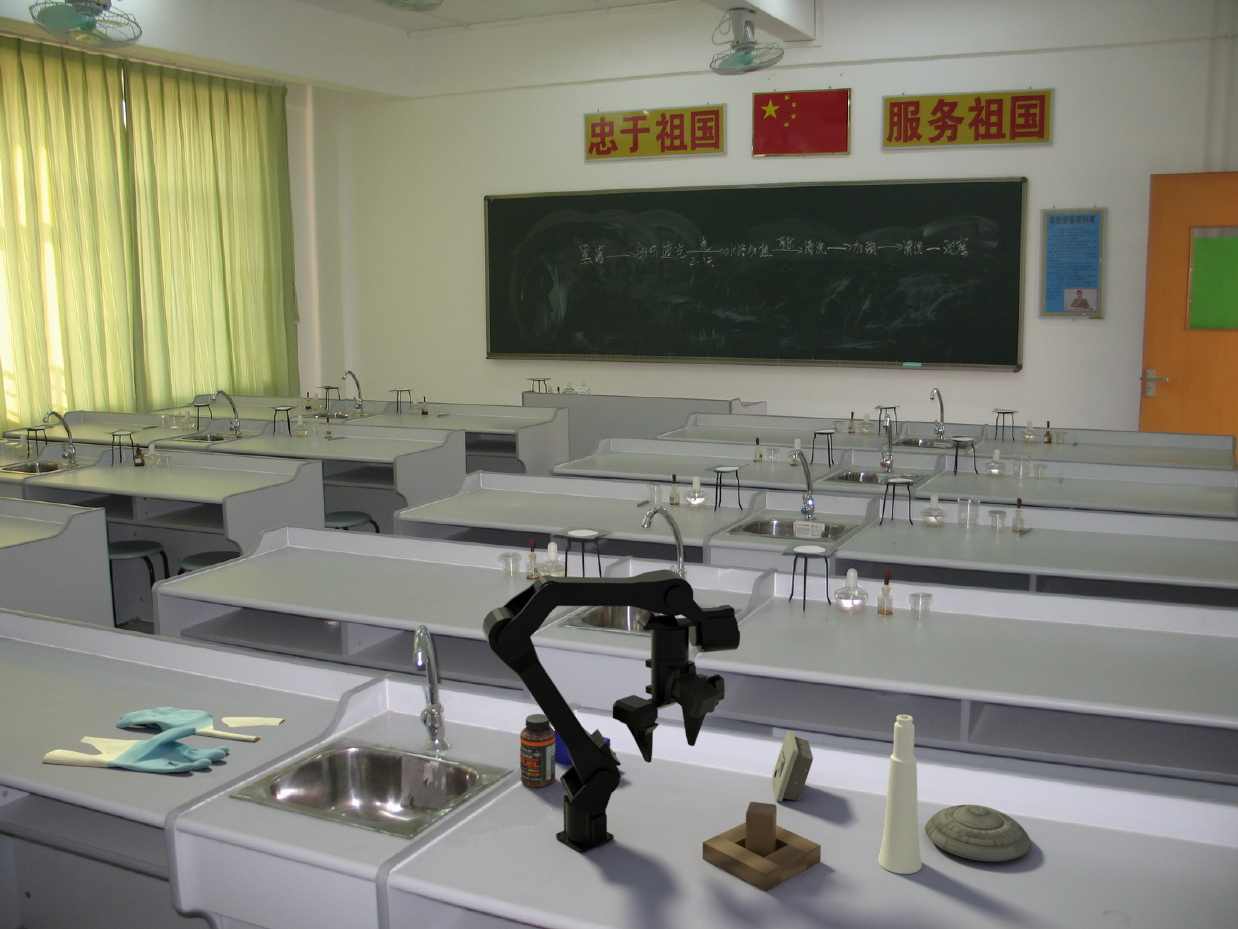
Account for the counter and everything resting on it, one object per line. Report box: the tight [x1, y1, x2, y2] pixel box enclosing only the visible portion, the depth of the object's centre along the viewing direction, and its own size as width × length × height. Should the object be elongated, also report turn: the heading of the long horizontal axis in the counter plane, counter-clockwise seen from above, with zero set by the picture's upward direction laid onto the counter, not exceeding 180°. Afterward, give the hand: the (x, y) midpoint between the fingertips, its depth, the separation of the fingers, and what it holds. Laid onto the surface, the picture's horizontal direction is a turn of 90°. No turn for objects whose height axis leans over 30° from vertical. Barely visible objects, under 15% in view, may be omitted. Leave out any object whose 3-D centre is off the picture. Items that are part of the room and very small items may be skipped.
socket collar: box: [702, 821, 822, 892], centre depth 154 cm, size 12×12×2 cm
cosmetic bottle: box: [878, 714, 923, 875], centre depth 151 cm, size 6×6×22 cm
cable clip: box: [554, 730, 617, 768], centre depth 188 cm, size 12×4×6 cm, turn 51°
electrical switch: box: [771, 729, 814, 803], centre depth 176 cm, size 9×5×9 cm, turn 176°
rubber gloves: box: [41, 706, 286, 774], centre depth 199 cm, size 27×33×6 cm
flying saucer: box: [924, 804, 1032, 862], centre depth 159 cm, size 15×15×6 cm
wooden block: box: [745, 801, 778, 857], centre depth 154 cm, size 4×4×8 cm
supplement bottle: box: [519, 713, 556, 788], centre depth 180 cm, size 6×6×11 cm
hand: (669, 753), depth 162 cm, fingers open, 9 cm apart
